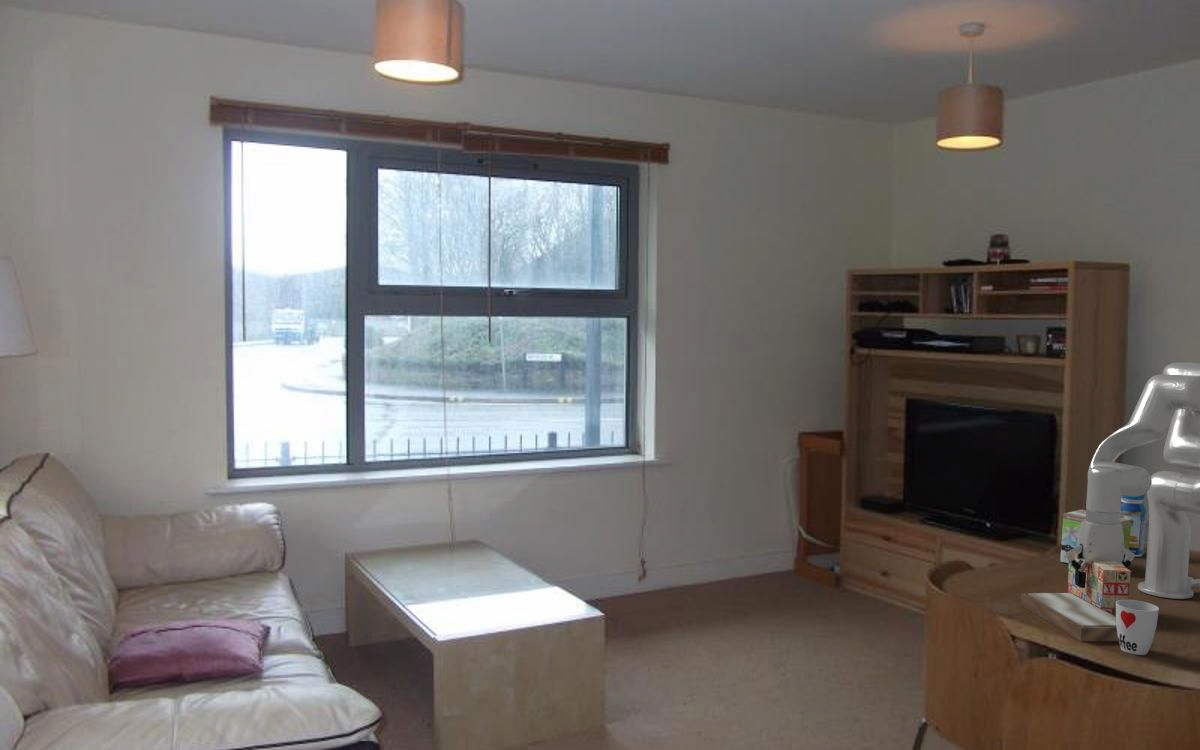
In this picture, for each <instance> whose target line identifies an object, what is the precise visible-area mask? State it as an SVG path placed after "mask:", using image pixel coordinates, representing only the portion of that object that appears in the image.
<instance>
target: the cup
mask: <svg viewBox="0 0 1200 750" xmlns="http://www.w3.org/2000/svg"><path fill="white" fill-rule="evenodd" d="M1159 610H1160V608H1159V607H1158V606H1157V605H1155V604H1152V603H1151V602H1146V601H1141V600H1136V599H1128V600H1118V601H1116V626H1117V635H1118V640H1119V641H1118V643H1119V646H1120V650H1121V651H1123V652H1125V653H1128V654H1130V655H1136V656H1145V655H1147V654H1148V653H1149V651H1150V649H1151V646H1152V644H1153V640H1154V637H1155V633H1156V630H1157V624H1158V618H1159V612H1160V611H1159Z"/></svg>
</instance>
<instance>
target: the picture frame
mask: <svg viewBox="0 0 1200 750" xmlns="http://www.w3.org/2000/svg"><path fill="white" fill-rule="evenodd" d="M1020 595H1021V597H1020V599H1021V600H1020V606H1021V607H1023V606H1024V607H1023V608H1025V609H1026V608H1027V609H1026V610H1028V611H1030V612H1031V611H1032V612H1031V613H1033V614H1034V615H1036V614H1037V616H1038V617H1040V618H1041V617H1042V618H1041V619H1042V620H1045V621H1046V620H1047V622H1048V623H1049V622H1050V623H1049V624H1051V625H1053V626H1054V627H1056V628H1058V629H1059V628H1060V629H1059V630H1062V631H1063V633H1066V634H1068V635H1069V634H1070V635H1069V636H1070V637H1073V638H1074V639H1076V640H1078V641H1080V642H1119V640H1118V635H1117V626H1116V616H1114V615H1113V614H1111V613H1109V612H1107V611H1105V610H1103V609H1101V608H1099V607H1097V606H1096V605H1094V604H1092V603H1090V602H1088V601H1086V600H1084V599H1082V598H1080V597H1079V596H1077V595H1075V594H1073V593H1068V592H1038V593H1037V592H1033V593H1032V592H1030V593H1029V592H1027V593H1026V592H1025V593H1024V592H1023V593H1022V592H1021V594H1020Z"/></svg>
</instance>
